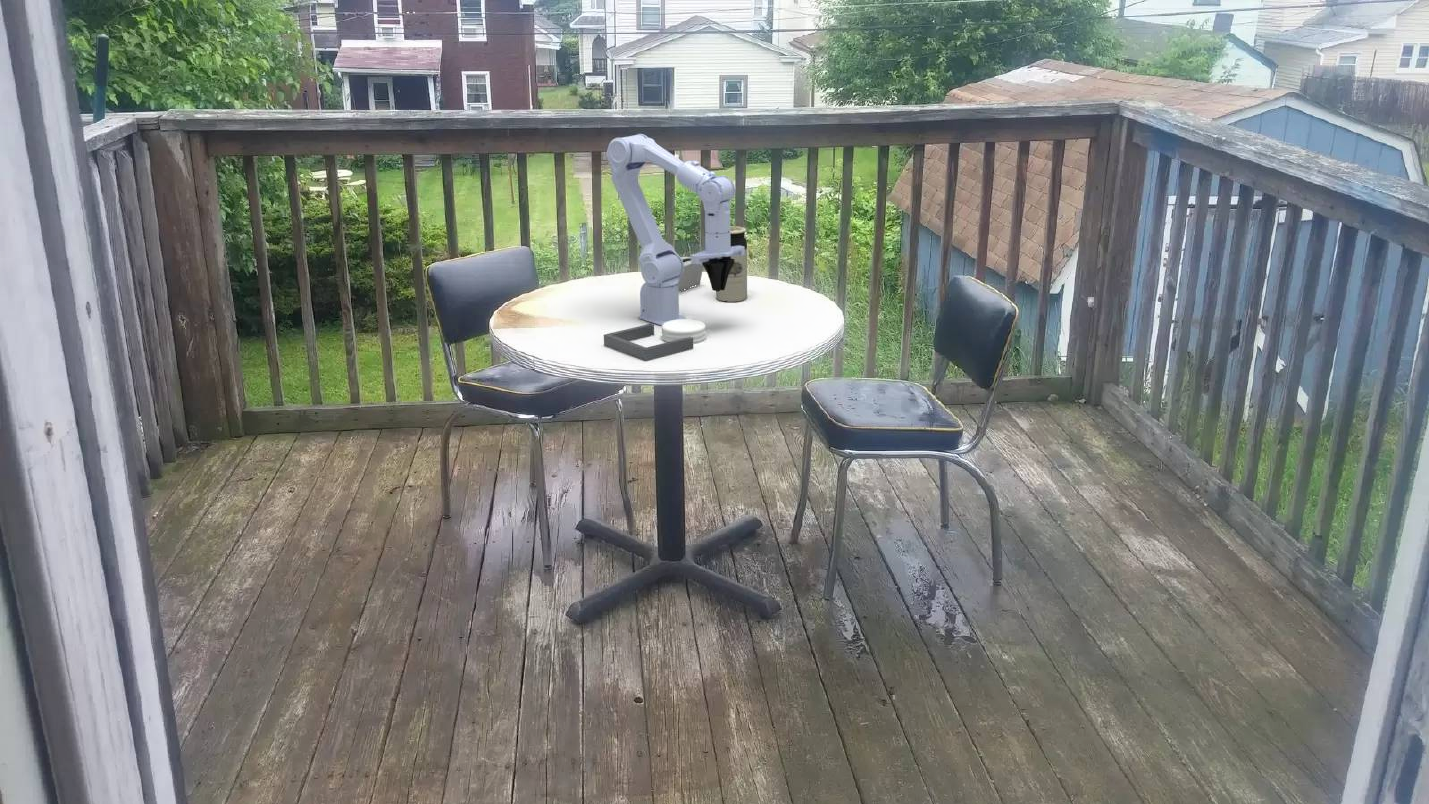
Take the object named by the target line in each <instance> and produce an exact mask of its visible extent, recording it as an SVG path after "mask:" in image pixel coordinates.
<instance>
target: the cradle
mask: <svg viewBox="0 0 1429 804" xmlns="http://www.w3.org/2000/svg"><path fill="white" fill-rule="evenodd" d="M654 324H655V323H648V324H642V325H639V326H634V327H631V328H626V329H622V330H618V331H613V332H610V333H605V334H603V345H604V346H605V347H608V348H610V349H612V350H615V351H617V352H620V353H623V354H626V355H629V356H631V357H633V358H636V359H639V360H642V361H644V362H647V361H652V360H654V359H659V358H662V357H667V356H671V355H675V354H678V352H679V353H681V352H680V351H682V352H685V351H689V349H690V350H693V349H694V344H693V338H692V337H686V338H682V339H678V340H674V341H670V342H664V343H659V344H654V345H651V346H643V345H640V344H638V343H635V342H632V341H635V340H640V339H644V338H648V337H652V336H651V335H653V336H655V325H654Z"/></svg>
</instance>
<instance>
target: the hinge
mask: <svg viewBox="0 0 1429 804" xmlns="http://www.w3.org/2000/svg"><path fill="white" fill-rule="evenodd" d="M680 257H681V258H682V260H683V263H684V271H683V274H682V275H681V276H680V277H679V282H678V291H681V292H683V291H682V290H684V289H687V288H690V287H692V286H695V285H699V286H700V284H701V280H702V276H703V270H704V266H703V265H702V263H700V264H692V263H691V256H683V257H682V256H680ZM690 289H691V288H690ZM687 290H688V289H687ZM684 291H685V290H684Z"/></svg>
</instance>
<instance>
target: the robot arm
mask: <svg viewBox="0 0 1429 804" xmlns="http://www.w3.org/2000/svg"><path fill="white" fill-rule="evenodd" d="M605 157H606V159H607V161H608V163H609V167H610V174H611V180H612V184H613V185H614V188H615V191H616V193H617V195H618V198H619V200H620V202H621V204H622V207H623V208H624V211H625V213H626V216H627V217H628V220H629V222H630V224H631V225H630V226H632V227H631V228H632V229H633V231H634V234H635V236H636V239H637V241H638V243H639V244H640V248H641V252H640V255H639V256H638V262H639V265H640V268H641V269H640V270H641V271H640V272H641V273H640V274H641V276H642V279H643V281H644V283H643V284H642V285H641V287H640V292H639V298H640V300H639V302H640V303H639V304H640V315H637V318H638V319H640V320H643V321H647V322H650V323H651V324H655V325H658V326H662V325H663V324H664V323H665V322H668V321H671V320H677V319H688V318H687V317H686V316H683V315H681V314H680V304H679V303H680V299H679V297H680V294H679V293H680V292H679V291H678V282H679V277H680V276H681V275H682V274H683V271H684V263H683V260H682V258H681V257H682V256H680V255H679V254H678V253H677V251H676V250H675V248H674V246H673V245H672V244H671V243H668V242H667V241H666V240H664V238H663V236H662V233H661V231H660V228H659V227H658V225H657V222H656V219H655V216H654V215H653V213H652V210H651V208H650V206H649V203H648V202H647V199H646V197H645V195H644V192H643V190H642V187H641V186H640V182H639V181H638V177H639V173H640V172H641V170H642V169H643V168H644V166H645V165H646V163H647V162H649V163H651V164H653V165H656V166H657V167H659V168H661V169H662V170H665V171H667V172H668V173H671V174H672V175H674V176H676V179H677V180H676V181H677V182H678V184H680V185H681V186H684V188H687V189H688V190H690V191H692V192H693V193H695V194H696V195H698V196H699V198H700V200H701V202H702V204H703V210H704V226H705V227H704V228H705V229H704V232H705V233H704V239H705V241H704V243H705V245H704V246H705V249H704V250H702V251H699V252H697V253H692V254H690V257H691V263H692V264H700V263H702V265H703V269H704V270H705V272H706V274H707V276H708V280H709V283H710V287H711V290H712V291H714V292H716V291H720V290H725V286H726V282H727V279H728V275H729V273H730V270H731V268H732V267H733V265H734V263H735V260H734V259H732V258H731V257H732V256H737V255H745V247H744V246H731V242H730V226H731V200H732V199H733V198H734V197H735V193H736V187H735V183H734V182H733V181H732V180H731V179H730V178H729V176H727V175H719V176H717V175H716V172H714V171H709V170H708V169H706V168H704V167H703V166H701V165H700V161H697V160H688V161H687V160H686V161H685V162H684V161H683V160H681V159H679V158H678V157H676V156H675V155H674V154H672V153H671V152H670V151H668V150H667V149H664V148H663V147H662V146H661V145H659V144H657V143H656V141H655V140H654V138H652V137H648V136H647V135H646V134H643V133H637V134H635V135H630V136H624V137H616V138H613V139H612V140H611V141H610V142H609V144H608V146H607V150H606V153H605Z"/></svg>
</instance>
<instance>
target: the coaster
mask: <svg viewBox="0 0 1429 804" xmlns="http://www.w3.org/2000/svg"><path fill="white" fill-rule="evenodd" d="M706 328H707V326H706V324H705V323H704V322H703V321H701V320H698V319H691V318H690V319H689V318H687V319H677V320H671V321H668V322H665V323H664V324H663V325H661V335H662V336H661V339H662V341H664V343H666V342H670V341H674V340H678V339H682V338H686V337H692V338H693V343H694V344H698V342H699V343H701V342H703V341H705V339H706V338H707V335H706V332H707V330H706Z"/></svg>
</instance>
